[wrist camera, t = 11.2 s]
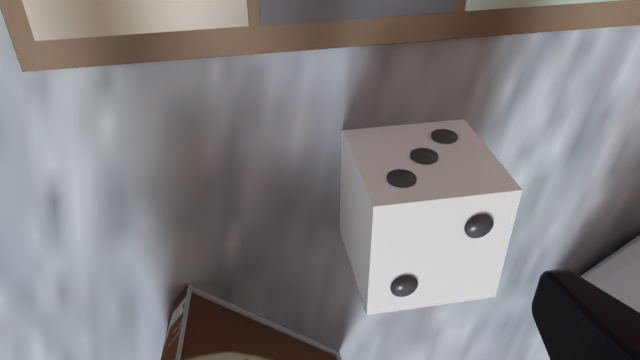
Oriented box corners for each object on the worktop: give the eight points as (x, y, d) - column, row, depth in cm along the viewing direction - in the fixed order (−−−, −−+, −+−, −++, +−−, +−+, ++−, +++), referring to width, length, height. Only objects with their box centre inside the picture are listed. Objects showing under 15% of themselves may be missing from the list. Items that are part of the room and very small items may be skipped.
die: (339, 228, 24) (367, 316, 20) (341, 127, 21) (374, 206, 17) (449, 215, 25) (498, 298, 21) (465, 116, 22) (526, 189, 18)
